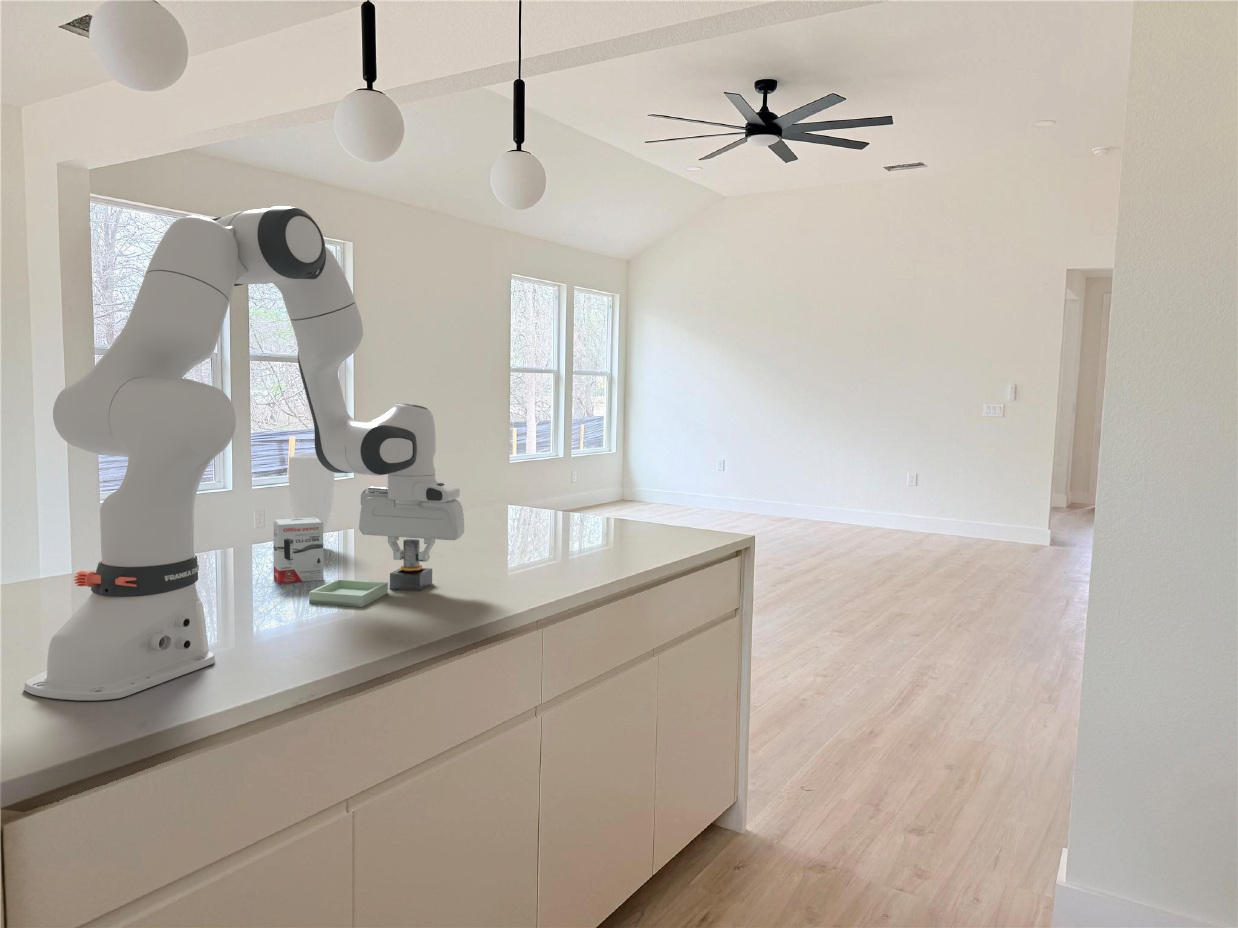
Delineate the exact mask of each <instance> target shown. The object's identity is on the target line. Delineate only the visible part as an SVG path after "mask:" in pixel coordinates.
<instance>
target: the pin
mask: <svg viewBox="0 0 1238 928" xmlns="http://www.w3.org/2000/svg"><path fill="white" fill-rule="evenodd" d="M402 545H403V549H402V550H403V559H402V561H403V565H400V568H401V571H403V573H409V574H418V573H419V571H420V570H422V568H423V565H421V564H420V561H419V559H418V558H419V552H421V550H420V548H421V547H420V545H421V543H420V538H406V539H403V544H402Z"/></svg>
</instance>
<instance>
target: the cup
mask: <svg viewBox="0 0 1238 928" xmlns="http://www.w3.org/2000/svg"><path fill="white" fill-rule="evenodd" d="M288 460H289V461H288V489H289V501H290V504H291V505H290V506H291V509H292V513H293V519H297V518H312V517H316V518H318V519H320V520H321V521H322V522H323V534H324V532H325V530H326V527H327V524H328V523H329V520H330V516H331V512H332V505H333V502H334V501H333V500H334V495H335V472H332V471H329V470H328V469H326V468H325V467H324V466H323V465H322V464H321V463H320V461H319V460H318V457H317V455H316V453H299V454H298V453H297V454H296V453H295V454H291V455H290V456H289V457H288Z"/></svg>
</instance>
